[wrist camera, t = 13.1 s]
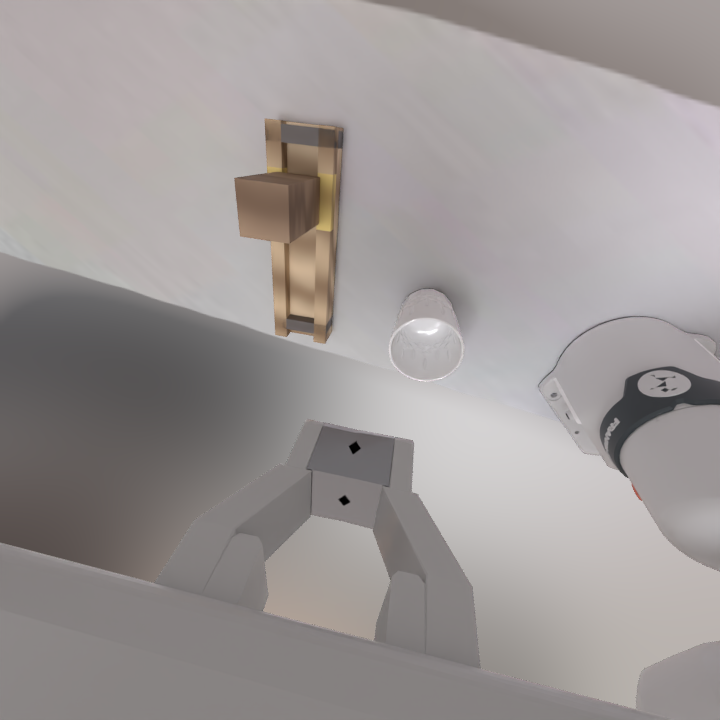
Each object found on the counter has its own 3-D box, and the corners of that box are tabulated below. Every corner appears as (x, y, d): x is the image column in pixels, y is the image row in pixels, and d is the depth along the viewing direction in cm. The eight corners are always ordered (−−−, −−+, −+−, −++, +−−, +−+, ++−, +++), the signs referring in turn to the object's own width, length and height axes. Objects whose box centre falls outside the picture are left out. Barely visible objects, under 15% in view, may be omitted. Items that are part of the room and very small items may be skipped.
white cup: (403, 278, 41) (396, 310, 33) (465, 290, 41) (475, 326, 32) (391, 332, 46) (382, 373, 37) (447, 344, 45) (451, 388, 37)
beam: (331, 331, 47) (325, 343, 44) (284, 323, 48) (275, 334, 45) (343, 128, 34) (335, 126, 31) (278, 121, 35) (264, 118, 32)
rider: (322, 221, 37) (289, 243, 28) (284, 216, 37) (240, 236, 29) (324, 176, 35) (288, 185, 26) (283, 170, 35) (234, 177, 26)
